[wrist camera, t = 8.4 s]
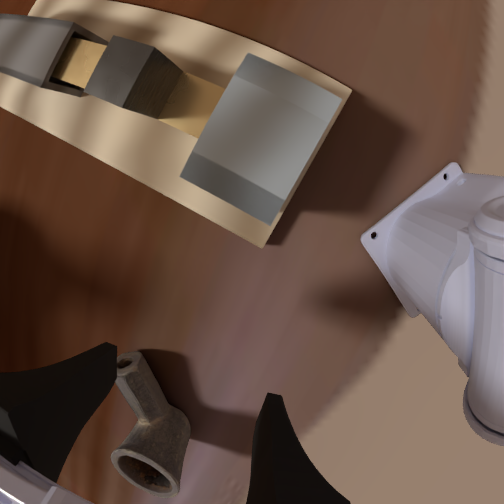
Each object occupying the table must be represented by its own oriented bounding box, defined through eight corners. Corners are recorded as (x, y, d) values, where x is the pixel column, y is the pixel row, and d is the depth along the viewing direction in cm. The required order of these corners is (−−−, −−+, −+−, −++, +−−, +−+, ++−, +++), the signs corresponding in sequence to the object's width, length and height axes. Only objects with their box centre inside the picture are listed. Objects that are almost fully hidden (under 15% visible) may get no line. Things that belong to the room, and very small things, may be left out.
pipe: (163, 343, 25) (123, 403, 17) (210, 443, 28) (192, 502, 20) (108, 348, 26) (63, 399, 18) (159, 442, 29) (135, 495, 21)
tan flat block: (280, 123, 17) (277, 97, 11) (256, 166, 18) (239, 164, 11) (60, 39, 17) (3, 17, 10) (44, 72, 18) (-16, 57, 11)
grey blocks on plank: (349, 94, 18) (373, 65, 12) (263, 244, 22) (254, 275, 15) (47, -2, 17) (8, -22, 11) (-4, 101, 21) (-48, 97, 14)
